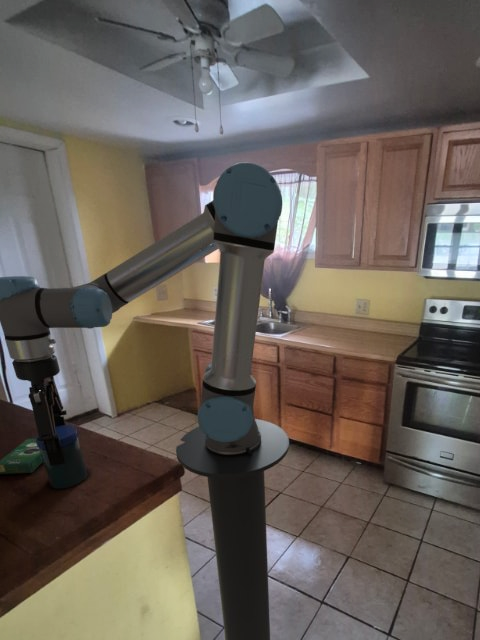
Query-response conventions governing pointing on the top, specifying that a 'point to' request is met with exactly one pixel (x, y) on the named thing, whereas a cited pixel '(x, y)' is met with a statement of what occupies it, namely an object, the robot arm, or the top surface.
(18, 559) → the top surface
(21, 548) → the top surface
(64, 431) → the jar lid
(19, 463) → the coffee box
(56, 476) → the jar
